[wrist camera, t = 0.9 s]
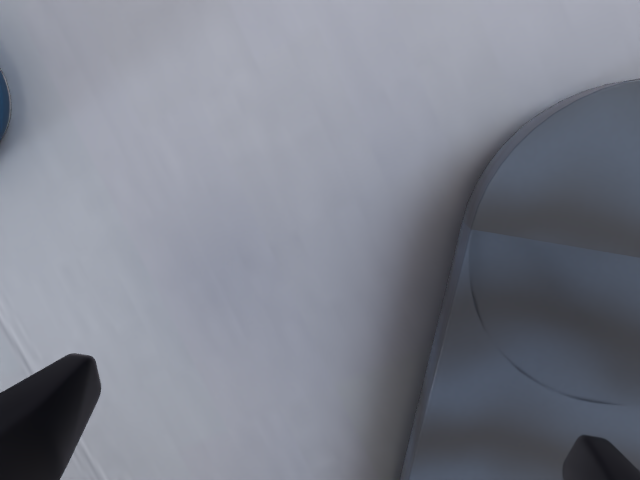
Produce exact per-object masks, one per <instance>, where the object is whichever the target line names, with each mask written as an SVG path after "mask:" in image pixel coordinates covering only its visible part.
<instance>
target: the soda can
mask: <svg viewBox="0 0 640 480" xmlns="http://www.w3.org/2000/svg"><path fill="white" fill-rule="evenodd" d="M10 115H11V98H10V92H9V88H8V85H7V82H6V79H5V77H4V74H3V72H2V70H1V69H0V140H1V139H2V137H3V136H4V134H5V132H6V130H7V127H8V124H9V121H10Z"/></svg>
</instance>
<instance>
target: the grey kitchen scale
mask: <svg viewBox="0 0 640 480" xmlns="http://www.w3.org/2000/svg"><path fill="white" fill-rule="evenodd" d="M581 435H589V436H595V437H601V438H605V439H607V440H608V441H609V442H611V443H612V444H613V445H614V446H615V447H616V448H617V449H618V450H619V451H620V452H621V453H622V454H623V455H624V456H625V457H626V458H627V459H628V460H629V461H630V462H631V463H632V464H633V465H634V466H635V467H636V468H637V469H638V470H639V471H640V79H635V80H629V81H623V82H618V83H612V84H606V85H603V86H599V87H596V88H593V89H590V90H586V91H583V92H580V93H578V94H576V95H574V96H571V97H569V98H567V99H565V100H562V101H560V102H558V103H557V104H555V105H553V106H552V107H550V108H548V109H547V110H545V111H543V112H542V113H540V114H538V115H537V116H536V117H535V118H533V119H532V120H531V121H529V122H528V123H527V124H525V125H524V126H523V127H521V128H520V129H519V130H518V131H517V132H516V133H515V134H514V135H513V136H512V137H511V138H510V139H509V140H508V141H507V142H506V143H505V144H504V145H503V146H502V147H501V149H500V150H499V151H498V152H497V153H496V155H495V156H494V157H493V158H492V160H491V161H490V162H489V164H488V165H487V167H486V169H485V170H484V172H483V173H482V175H481V177H480V178H479V180H478V181H477V184H476V186H475V188H474V190H473V192H472V194H471V197H470V199H469V201H468V204H467V208H466V211H465V214H464V217H463V221H462V225H461V229H460V233H459V237H458V241H457V245H456V250H455V254H454V258H453V262H452V266H451V270H450V274H449V278H448V283H447V287H446V291H445V295H444V299H443V303H442V307H441V311H440V316H439V320H438V324H437V328H436V332H435V336H434V340H433V344H432V349H431V353H430V357H429V361H428V365H427V369H426V373H425V377H424V381H423V386H422V390H421V394H420V398H419V402H418V406H417V410H416V414H415V419H414V423H413V427H412V431H411V435H410V439H409V443H408V447H407V452H406V456H405V460H404V464H403V468H402V472H401V476H400V480H563V474H562V469H563V463H564V461H565V459H566V457H567V455H568V454H569V452H570V450H571V448H572V447H573V445H574V443H575V441H576V440H577V438H578V437H579V436H581Z"/></svg>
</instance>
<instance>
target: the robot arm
mask: <svg viewBox="0 0 640 480" xmlns="http://www.w3.org/2000/svg"><path fill="white" fill-rule="evenodd" d="M100 392H101V383H100V379H99V374H98V370H97V365H96V361H95V359H94V358H93V357H92V356H89V355H82V354H76V353H73V354H69V355H67V356H65V357H63V358H61V359H60V360H58V361H56V362H54V363H52V364H51V365H49V366H47V367H45V368H44V369H42V370H40V371H38V372H37V373H35V374H33V375H31V376H30V377H28V378H26V379H24V380H23V381H21V382H19V383H17V384H15V385H14V386H12V387H10V388H8V389H7V390H5V391H3V392H1V393H0V480H60V478H61V476H62V474H63V472H64V470H65V469H66V467H67V465H68V463H69V460H70V458H71V456H72V454H73V452H74V450H75V448H76V446H77V443H78V441H79V439H80V437H81V435H82V433H83V431H84V429H85V427H86V424H87V422H88V420H89V418H90V416H91V414H92V412H93V410H94V407H95V405H96V403H97V401H98V399H99V396H100ZM562 474H563V480H640V471H639V470H638V469H637V468H636V467H635V466H634V465H633V464H632V463H631V462H630V461H629V460H628V459H627V458H626V457H625V456H624V455H623V454H622V453H621V452H620V451H619V450H618V449H617V448H616V447H615V446H614V445H613V444H612V443H611V442H609V441H608V440H607V439H605V438H601V437H595V436H589V435H581V436H579V437H578V438H577V440H576V441H575V443H574V445H573V447H572V448H571V450H570V452H569V454H568V455H567V457H566V459H565V461H564V463H563V469H562Z"/></svg>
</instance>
